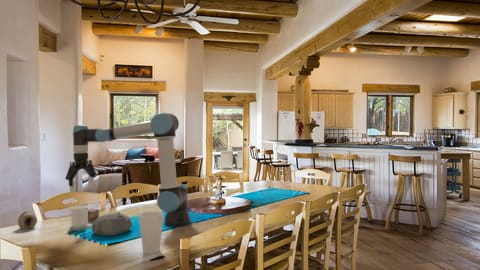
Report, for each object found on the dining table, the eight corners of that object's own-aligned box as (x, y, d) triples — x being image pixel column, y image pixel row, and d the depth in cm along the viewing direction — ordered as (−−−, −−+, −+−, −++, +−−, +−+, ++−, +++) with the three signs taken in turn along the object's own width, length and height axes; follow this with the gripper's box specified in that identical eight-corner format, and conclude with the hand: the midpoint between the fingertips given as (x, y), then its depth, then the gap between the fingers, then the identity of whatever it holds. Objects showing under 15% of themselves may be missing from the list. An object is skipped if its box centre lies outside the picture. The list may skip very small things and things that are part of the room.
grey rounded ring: (18, 233, 196) (12, 216, 195) (32, 226, 203) (26, 211, 203) (29, 230, 192) (22, 213, 191) (42, 223, 200) (36, 207, 199)
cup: (148, 246, 166) (148, 210, 166) (167, 248, 163) (167, 211, 163) (134, 254, 155) (134, 216, 155) (155, 256, 153) (154, 217, 152)
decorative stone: (92, 229, 194) (91, 211, 194) (131, 225, 202) (131, 208, 201) (91, 238, 178) (91, 219, 177) (133, 234, 185) (133, 215, 185)
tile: (105, 218, 218) (105, 218, 218) (91, 223, 208) (91, 222, 208) (91, 217, 222) (91, 217, 222) (77, 221, 211) (77, 221, 211)
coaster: (97, 225, 203) (97, 224, 203) (81, 230, 192) (81, 230, 192) (81, 223, 207) (81, 222, 207) (64, 228, 196) (64, 228, 196)
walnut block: (98, 218, 217) (98, 209, 217) (93, 221, 211) (93, 211, 211) (90, 218, 218) (89, 208, 218) (84, 220, 212) (84, 211, 212)
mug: (79, 230, 192) (79, 210, 192) (68, 226, 199) (68, 207, 199) (93, 226, 199) (93, 207, 199) (82, 223, 206) (82, 204, 206)
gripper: (92, 151, 212) (92, 186, 212) (57, 154, 188) (58, 193, 189) (102, 151, 209) (102, 186, 209) (68, 154, 186) (69, 194, 186)
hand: (81, 190), depth 199 cm, fingers open, 13 cm apart
